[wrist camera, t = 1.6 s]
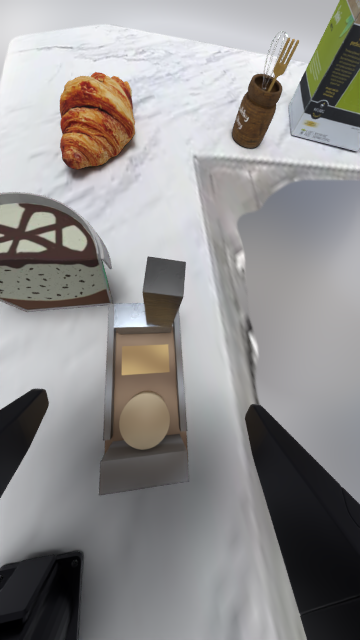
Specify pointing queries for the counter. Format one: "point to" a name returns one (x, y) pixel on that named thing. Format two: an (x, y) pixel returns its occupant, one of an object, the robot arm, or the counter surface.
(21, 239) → the food container
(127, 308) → the block
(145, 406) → the nut
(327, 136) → the tea box
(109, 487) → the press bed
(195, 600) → the counter surface
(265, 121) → the utensil holder
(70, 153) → the croissant
